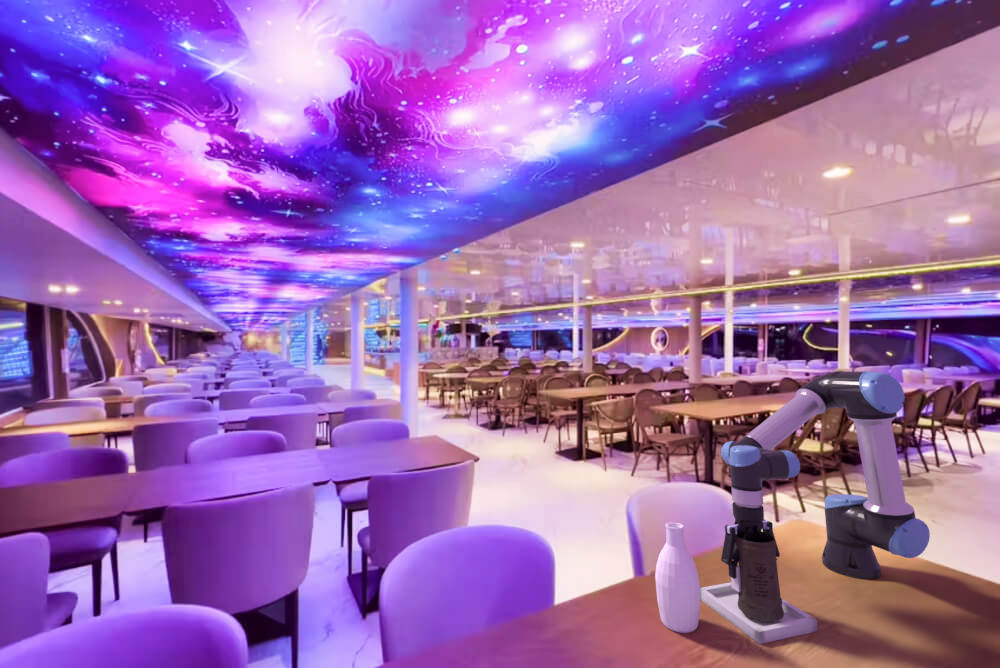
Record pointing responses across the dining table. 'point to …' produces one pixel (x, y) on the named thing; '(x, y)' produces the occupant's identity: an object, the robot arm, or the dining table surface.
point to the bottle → (677, 583)
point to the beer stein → (759, 579)
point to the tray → (760, 631)
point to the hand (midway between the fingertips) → (752, 586)
